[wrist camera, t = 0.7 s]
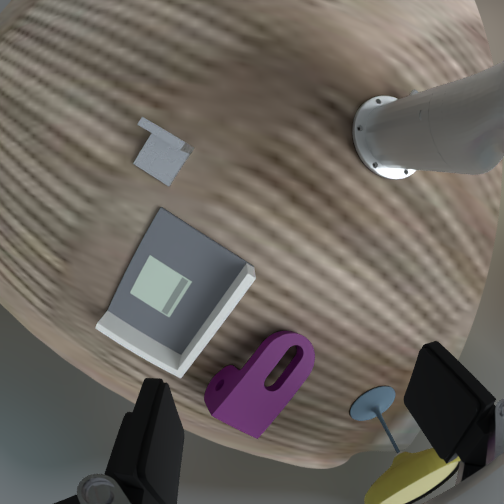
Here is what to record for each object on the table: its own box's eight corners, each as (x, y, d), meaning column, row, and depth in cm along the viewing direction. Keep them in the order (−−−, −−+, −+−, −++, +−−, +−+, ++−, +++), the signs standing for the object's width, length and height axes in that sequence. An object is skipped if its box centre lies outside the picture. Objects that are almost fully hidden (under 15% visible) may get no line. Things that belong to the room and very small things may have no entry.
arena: (161, 206, 36) (151, 211, 32) (253, 266, 39) (255, 278, 35) (106, 313, 40) (95, 328, 36) (184, 360, 43) (180, 378, 39)
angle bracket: (158, 125, 33) (142, 116, 26) (194, 147, 34) (185, 142, 28) (135, 163, 34) (114, 163, 28) (170, 186, 36) (155, 189, 29)
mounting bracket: (263, 313, 48) (200, 392, 43) (286, 321, 40) (211, 415, 35) (299, 342, 50) (240, 416, 45) (324, 353, 42) (257, 439, 37)
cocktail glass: (369, 433, 53) (404, 510, 29) (316, 421, 50) (346, 520, 26) (421, 382, 49) (475, 457, 25) (375, 362, 46) (437, 461, 22)
